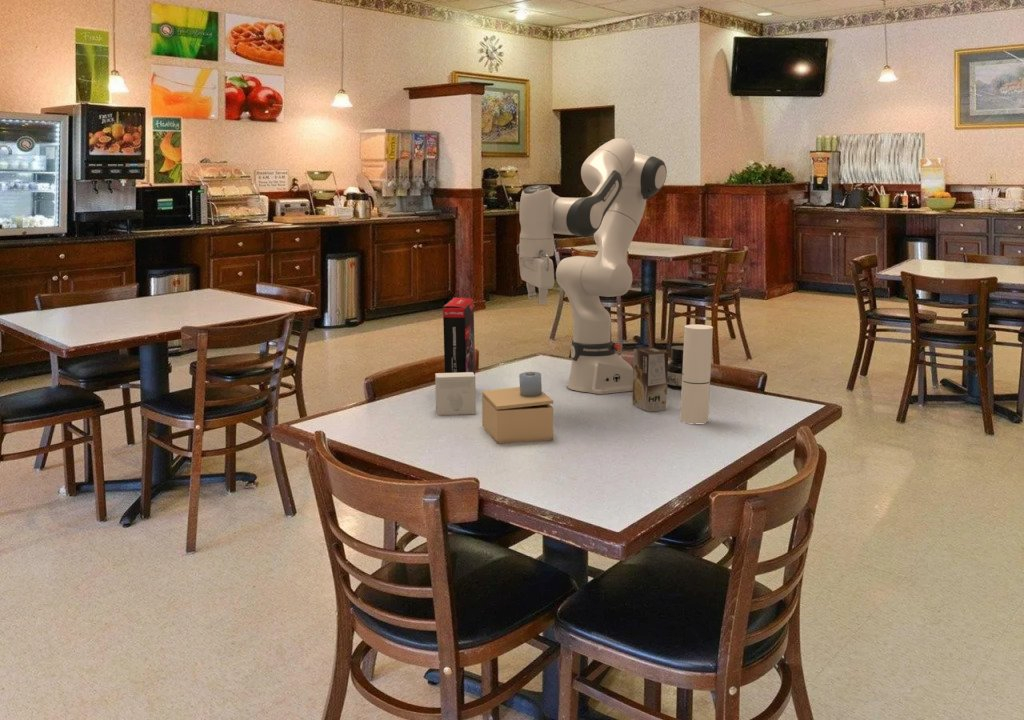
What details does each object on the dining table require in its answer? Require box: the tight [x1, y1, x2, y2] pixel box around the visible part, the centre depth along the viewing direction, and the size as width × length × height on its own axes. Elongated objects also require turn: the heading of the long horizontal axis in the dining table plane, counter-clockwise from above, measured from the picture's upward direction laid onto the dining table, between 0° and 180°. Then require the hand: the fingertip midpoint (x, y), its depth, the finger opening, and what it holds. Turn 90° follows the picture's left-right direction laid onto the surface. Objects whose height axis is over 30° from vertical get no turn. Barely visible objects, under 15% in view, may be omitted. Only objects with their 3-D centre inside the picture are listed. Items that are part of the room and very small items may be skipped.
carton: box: [481, 394, 554, 444], centre depth 232 cm, size 14×16×8 cm
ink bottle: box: [667, 345, 684, 390], centre depth 282 cm, size 10×9×12 cm
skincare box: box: [434, 372, 477, 416], centre depth 251 cm, size 10×6×10 cm, turn 98°
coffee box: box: [631, 346, 669, 413], centre depth 257 cm, size 9×6×16 cm
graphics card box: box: [442, 297, 476, 376], centre depth 269 cm, size 17×7×27 cm, turn 174°
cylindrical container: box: [679, 323, 714, 425], centre depth 242 cm, size 7×7×25 cm
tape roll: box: [518, 371, 543, 397], centre depth 231 cm, size 5×5×5 cm
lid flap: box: [481, 386, 554, 410], centre depth 231 cm, size 14×16×1 cm
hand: (537, 301), depth 246 cm, fingers open, 8 cm apart
